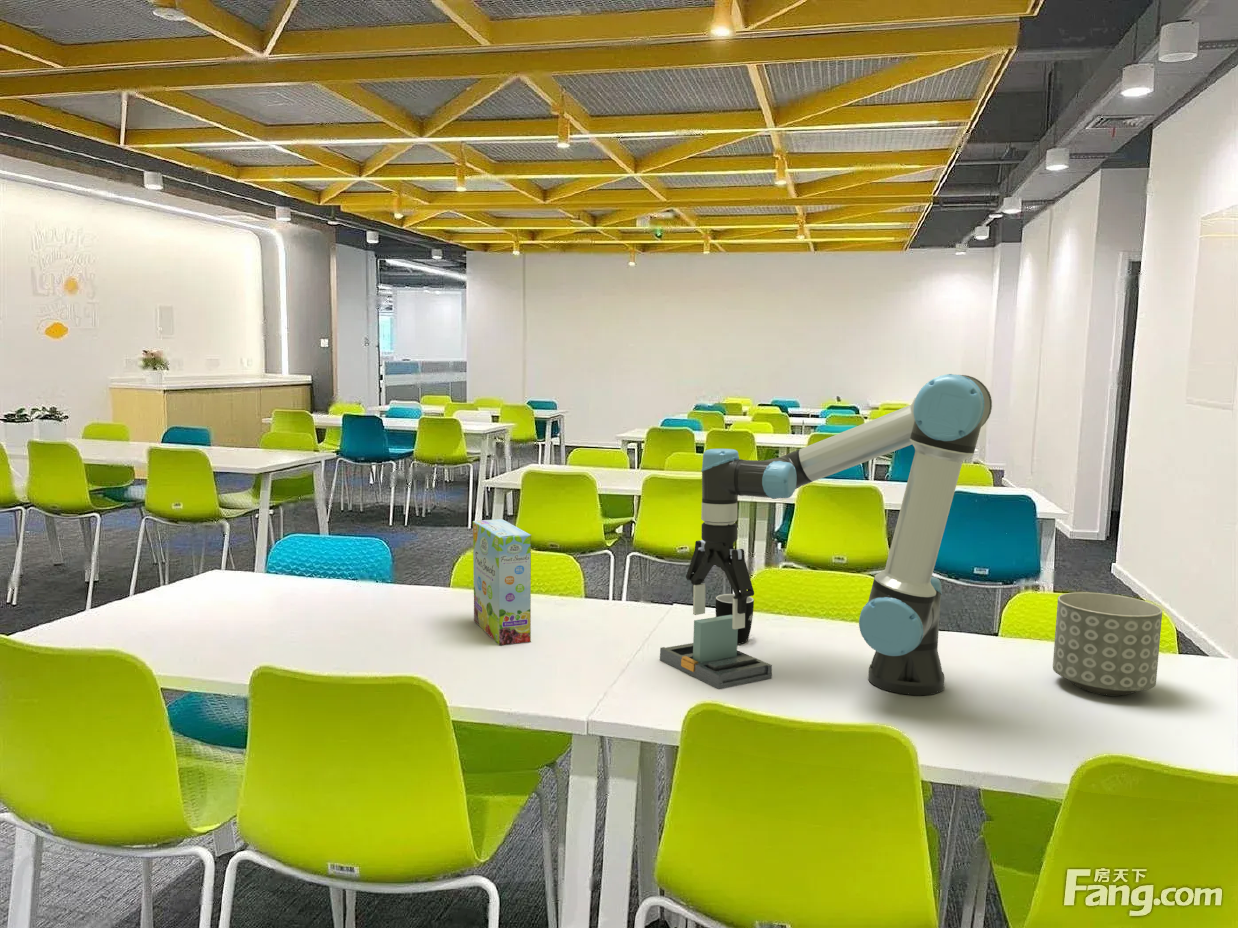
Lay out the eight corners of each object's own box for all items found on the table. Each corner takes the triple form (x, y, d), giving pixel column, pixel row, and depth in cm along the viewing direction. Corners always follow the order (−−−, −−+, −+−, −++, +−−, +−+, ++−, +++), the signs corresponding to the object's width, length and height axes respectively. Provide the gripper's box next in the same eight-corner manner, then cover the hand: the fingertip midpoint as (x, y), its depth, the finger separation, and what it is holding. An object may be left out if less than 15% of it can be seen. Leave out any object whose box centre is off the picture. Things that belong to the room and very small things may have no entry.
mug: (753, 646, 216) (754, 604, 215) (714, 644, 217) (715, 602, 216) (750, 632, 228) (752, 591, 227) (714, 630, 229) (715, 589, 228)
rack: (771, 678, 194) (772, 661, 194) (717, 689, 187) (718, 672, 186) (710, 650, 212) (710, 635, 212) (658, 659, 205) (659, 644, 204)
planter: (1064, 667, 206) (1071, 587, 204) (1162, 688, 194) (1170, 603, 192) (1040, 689, 191) (1046, 603, 189) (1144, 713, 179) (1152, 621, 178)
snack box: (470, 622, 231) (470, 519, 228) (503, 618, 235) (504, 518, 232) (496, 646, 211) (497, 535, 209) (532, 642, 215) (534, 533, 212)
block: (736, 662, 201) (738, 617, 200) (699, 669, 196) (700, 623, 195) (729, 659, 203) (731, 614, 202) (692, 666, 198) (694, 620, 197)
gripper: (772, 528, 188) (770, 631, 190) (698, 513, 209) (697, 606, 211) (743, 532, 184) (741, 637, 186) (670, 516, 205) (670, 610, 207)
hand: (718, 620), depth 198 cm, fingers open, 13 cm apart
